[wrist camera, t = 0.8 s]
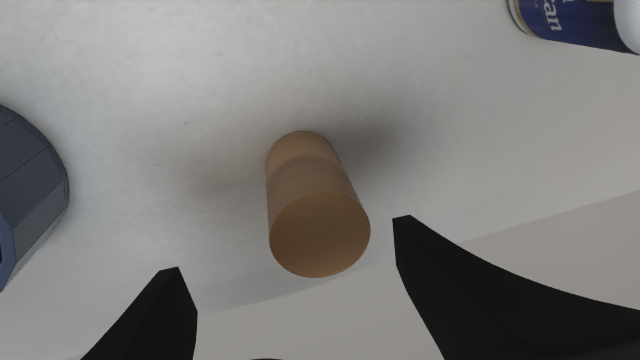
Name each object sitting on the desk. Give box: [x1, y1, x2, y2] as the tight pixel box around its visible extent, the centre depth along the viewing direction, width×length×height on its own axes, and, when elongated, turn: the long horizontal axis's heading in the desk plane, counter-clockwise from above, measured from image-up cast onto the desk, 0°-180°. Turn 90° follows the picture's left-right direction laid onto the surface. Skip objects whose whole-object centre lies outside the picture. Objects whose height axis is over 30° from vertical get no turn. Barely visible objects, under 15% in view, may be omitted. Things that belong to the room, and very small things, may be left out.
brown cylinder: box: [265, 131, 370, 278], centre depth 18 cm, size 4×4×7 cm
